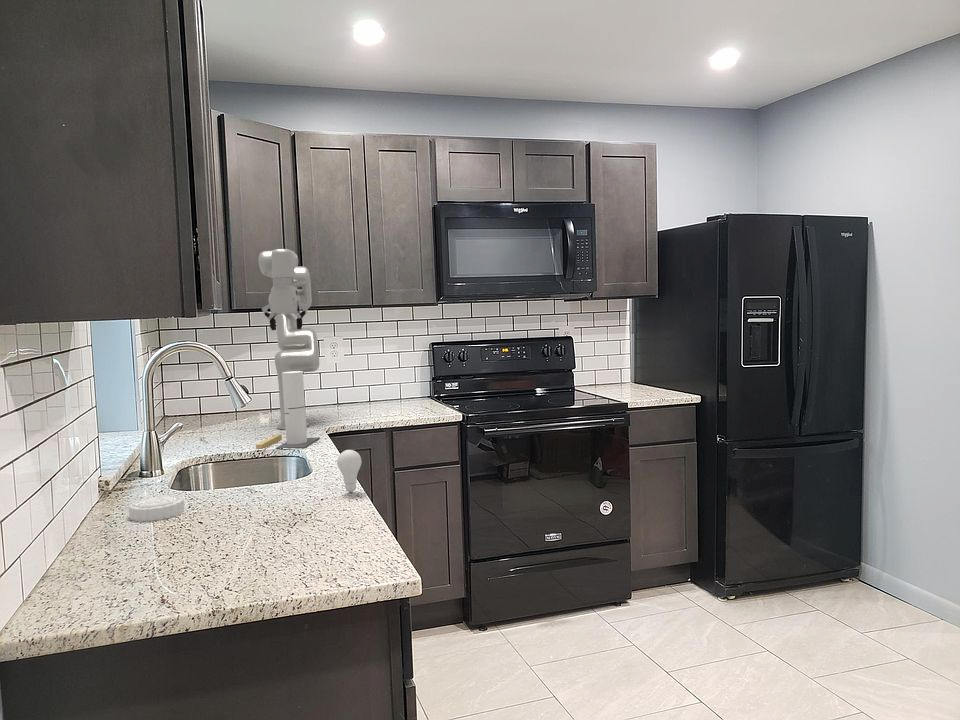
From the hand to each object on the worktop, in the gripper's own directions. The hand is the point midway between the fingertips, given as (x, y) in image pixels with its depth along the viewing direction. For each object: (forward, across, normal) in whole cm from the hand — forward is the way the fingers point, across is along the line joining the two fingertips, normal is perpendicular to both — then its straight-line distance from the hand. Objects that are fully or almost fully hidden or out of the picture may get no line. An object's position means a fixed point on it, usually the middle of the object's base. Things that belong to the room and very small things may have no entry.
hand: (286, 329), depth 269 cm
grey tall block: (+40, -6, +14) cm, 43 cm away
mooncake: (+41, 0, +99) cm, 107 cm away
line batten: (+40, +4, +14) cm, 43 cm away
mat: (+40, -6, +14) cm, 43 cm away
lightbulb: (+40, -43, +84) cm, 103 cm away
